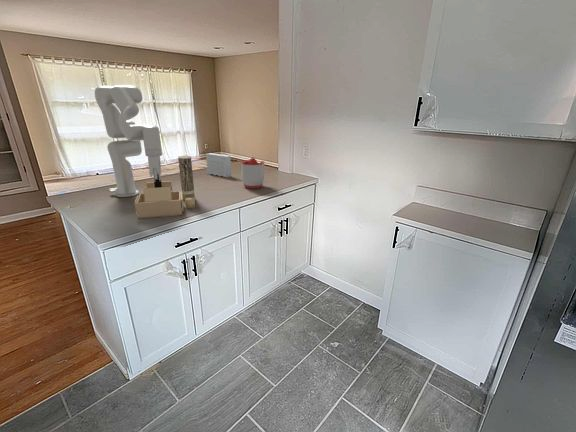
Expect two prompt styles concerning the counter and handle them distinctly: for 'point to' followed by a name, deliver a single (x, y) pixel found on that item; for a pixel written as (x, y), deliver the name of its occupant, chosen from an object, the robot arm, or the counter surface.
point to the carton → (159, 206)
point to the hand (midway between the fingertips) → (158, 188)
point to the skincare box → (218, 164)
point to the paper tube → (186, 177)
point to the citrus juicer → (252, 173)
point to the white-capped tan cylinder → (190, 203)
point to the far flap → (164, 184)
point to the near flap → (157, 194)
